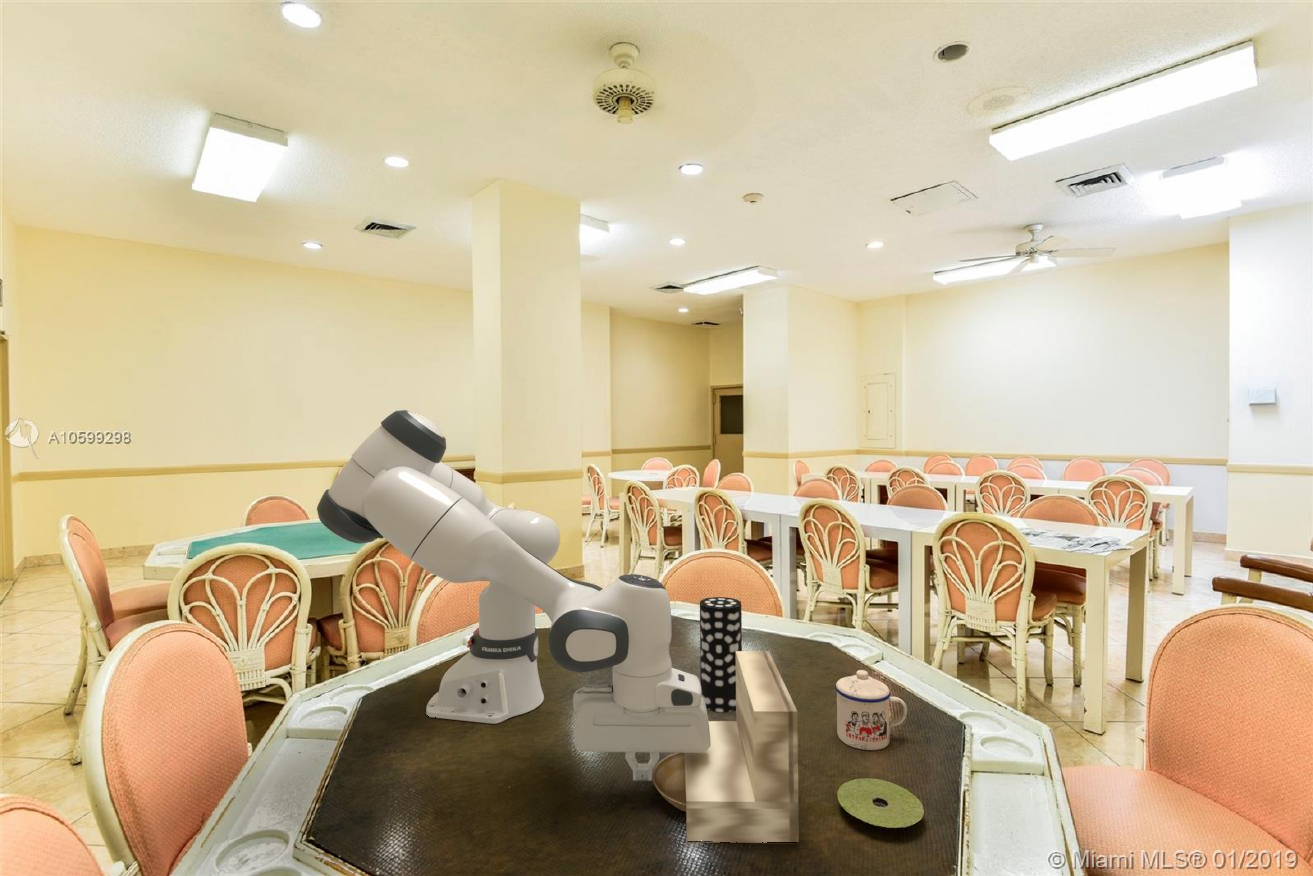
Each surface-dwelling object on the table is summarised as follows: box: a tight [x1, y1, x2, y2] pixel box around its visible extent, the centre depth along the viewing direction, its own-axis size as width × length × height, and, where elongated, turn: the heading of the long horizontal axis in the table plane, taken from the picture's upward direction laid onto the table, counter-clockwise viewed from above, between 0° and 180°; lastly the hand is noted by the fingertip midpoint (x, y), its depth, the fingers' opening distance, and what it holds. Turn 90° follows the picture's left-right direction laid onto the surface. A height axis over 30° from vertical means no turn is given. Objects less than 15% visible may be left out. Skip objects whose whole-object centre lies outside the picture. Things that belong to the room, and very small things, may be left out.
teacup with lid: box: [835, 669, 908, 751], centre depth 102 cm, size 12×9×12 cm
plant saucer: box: [652, 753, 686, 813], centre depth 87 cm, size 15×15×3 cm
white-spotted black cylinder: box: [699, 596, 743, 713], centre depth 117 cm, size 8×8×20 cm
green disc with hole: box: [836, 777, 925, 829], centre depth 82 cm, size 11×11×2 cm
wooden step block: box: [684, 650, 800, 844], centre depth 87 cm, size 14×22×17 cm, turn 179°
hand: (642, 778), depth 87 cm, fingers closed
